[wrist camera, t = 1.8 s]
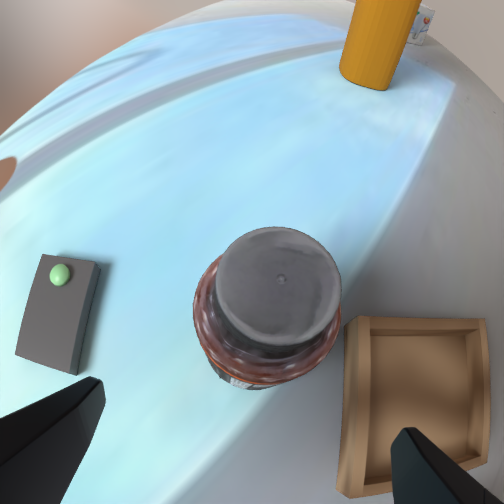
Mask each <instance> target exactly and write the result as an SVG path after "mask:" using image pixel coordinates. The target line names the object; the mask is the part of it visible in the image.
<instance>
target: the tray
mask: <svg viewBox="0 0 504 504" xmlns="http://www.w3.org/2000/svg"><path fill="white" fill-rule="evenodd" d="M490 407H491V393H490V366H489V352H488V341H487V332H486V324H485V319H439V318H399V317H375V316H357V317H356V318H354V319H353V320H352V321H350V322H349V323H348V324H346V325H345V326H344V389H343V412H342V429H341V443H340V455H339V465H338V475H337V484H336V490H337V491H339V492H340V493H342V494H343V495H345V496H346V497H348V498H349V499H352V498H359V497H366V496H372V495H378V494H383V493H388V492H393V490H392V472H391V454H390V448H391V444H392V442H393V441H394V439H395V438H396V437H397V435H398V434H399V432H400V431H401V430H402V429H403V428H404V427H416V428H417V429H418V430H419V431H421V432H422V433H423V434H424V435H425V436H426V437H427V438H428V439H430V440H431V441H432V442H433V443H434V444H435V445H436V446H437V447H439V448H440V449H441V450H442V451H443V452H444V453H445V454H446V455H448V456H449V457H450V458H451V459H452V460H453V461H454V462H456V463H457V464H458V465H459V466H460V467H461V468H462V469H464V470H465V471H467V470H470V469H473V468H475V467H478V466H480V465H483V464H485V463H487V458H488V448H489V434H490Z"/></svg>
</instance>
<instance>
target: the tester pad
mask: <svg viewBox="0 0 504 504" xmlns="http://www.w3.org/2000/svg"><path fill="white" fill-rule="evenodd" d="M100 270H101V269H100V268H99V266H98V265H97V264H96V262H93V261H86V260H79V259H72V258H65V257H59V256H52V255H46V254H42V257H41V259H40V262H39V265H38V268H37V271H36V274H35V277H34V280H33V284H32V287H31V290H30V294H29V297H28V301H27V304H26V308H25V312H24V316H23V319H22V324H21V328H20V332H19V336H18V341H17V346H16V351H15V355H17V356H20V357H22V358H25V359H28V360H30V361H33V362H36V363H39V364H42V365H44V366H47V367H50V368H53V369H56V370H60V371H63V372H66V373H69V374H73V375H76V376H77V371H78V365H79V360H80V354H81V349H82V344H83V339H84V334H85V329H86V325H87V320H88V316H89V312H90V308H91V303H92V299H93V295H94V292H95V288H96V284H97V280H98V277H99V273H100Z"/></svg>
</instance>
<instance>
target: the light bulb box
mask: <svg viewBox="0 0 504 504" xmlns="http://www.w3.org/2000/svg"><path fill="white" fill-rule="evenodd" d="M434 13H435V11H434V10H432V9H431V8H429V7H427V6H426V5H424V4H423V3H421V4H420V6H419V9H418V12H417V15H416V18H415V20H414V23H413V26H412V28H411V31H410V34H409V36H408V39H407V42H408V43H412V44H416V45H420V46H421V45H422V42H423V40H424V38H425V35H426V33H427V30H428V28H429V25H430V23H431V20H432V18H433V15H434Z"/></svg>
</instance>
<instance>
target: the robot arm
mask: <svg viewBox="0 0 504 504" xmlns="http://www.w3.org/2000/svg"><path fill="white" fill-rule="evenodd" d="M105 403H106V398H105V392H104V386H103V382H102V381H101V380H100V379H97V378H94V377H91V376H89V377H86V378H84V379H82V380H80V381H78V382H76V383H74V384H72V385H70V386H68V387H66V388H64V389H62V390H60V391H58V392H56V393H53V394H51V395H49V396H47V397H45V398H43V399H41V400H39V401H37V402H35V403H32V404H30V405H28V406H26V407H24V408H22V409H19V410H17V411H15V412H13V413H11V414H9V415H6V416H4V417H2V418H0V504H60V503H61V501H62V499H63V497H64V495H65V493H66V491H67V489H68V487H69V485H70V483H71V481H72V479H73V477H74V475H75V473H76V471H77V469H78V467H79V465H80V463H81V461H82V459H83V457H84V455H85V453H86V452H87V450H88V447H89V445H90V443H91V441H92V438H93V435H94V433H95V430H96V427H97V425H98V422H99V420H100V417H101V414H102V412H103V409H104V407H105ZM390 454H391V472H392V490H393V497H394V504H504V503H503V502H501V501H500V500H499V499H498V498H496V497H495V496H494V495H493V494H491V493H490V492H489V491H488V490H487V489H486V488H484V487H483V486H482V485H481V484H480V483H479V482H477V481H476V480H475V479H474V478H473V477H472V476H470V475H469V474H468V473H467V472H466V471H465V470H464V469H462V468H461V467H460V466H459V465H458V464H457V463H456V462H454V461H453V460H452V459H451V458H450V457H449V456H448V455H446V454H445V453H444V452H443V451H442V450H441V449H440V448H439V447H437V446H436V445H435V444H434V443H433V442H432V441H431V440H430V439H428V438H427V437H426V436H425V435H424V434H423V433H422V432H421V431H419V430H418V429H417V428H416V427H404V428H403V429H402V430H401V431H400V432H399V434H398V435H397V437H396V438H395V439H394V441H393V442H392V444H391V448H390Z"/></svg>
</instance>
